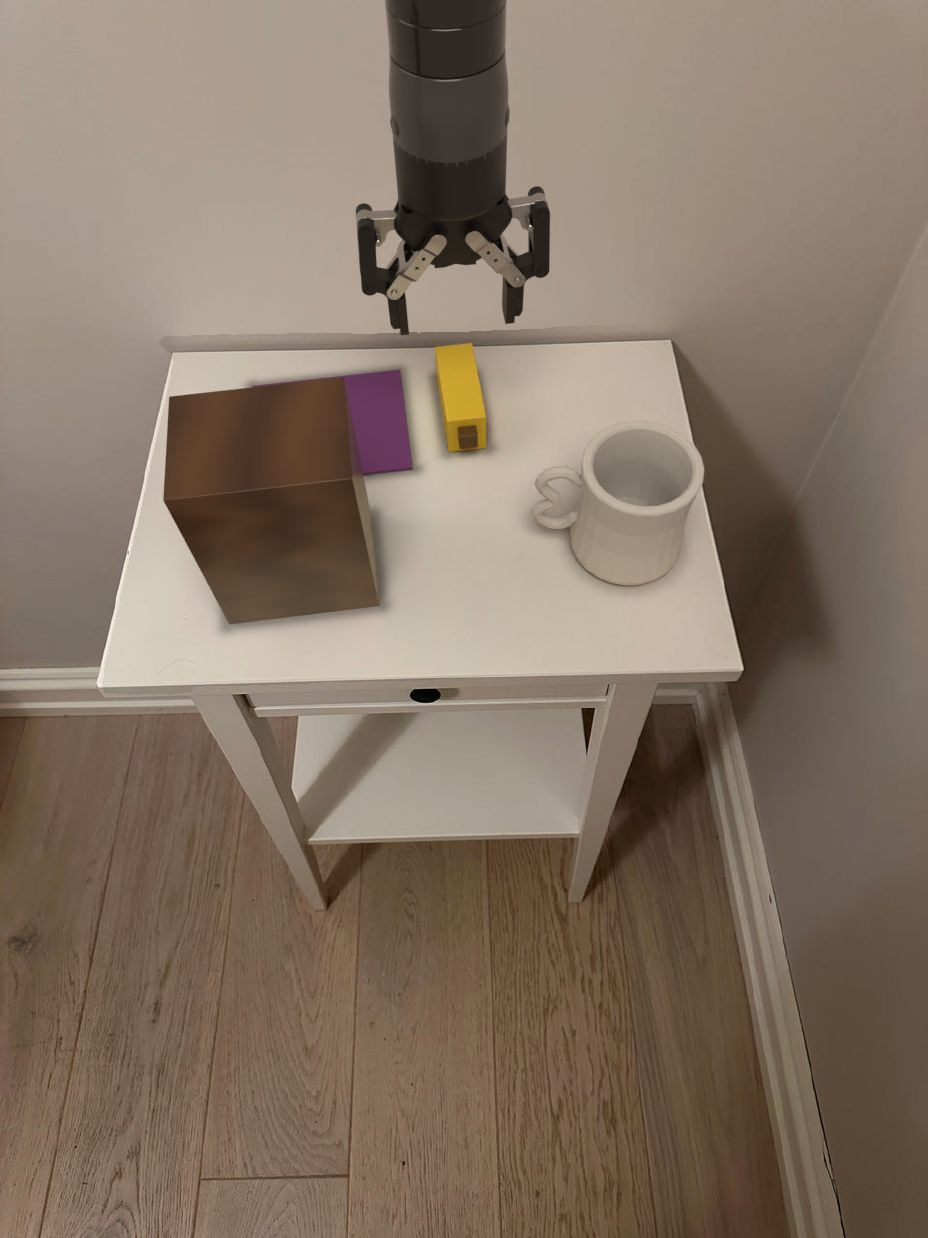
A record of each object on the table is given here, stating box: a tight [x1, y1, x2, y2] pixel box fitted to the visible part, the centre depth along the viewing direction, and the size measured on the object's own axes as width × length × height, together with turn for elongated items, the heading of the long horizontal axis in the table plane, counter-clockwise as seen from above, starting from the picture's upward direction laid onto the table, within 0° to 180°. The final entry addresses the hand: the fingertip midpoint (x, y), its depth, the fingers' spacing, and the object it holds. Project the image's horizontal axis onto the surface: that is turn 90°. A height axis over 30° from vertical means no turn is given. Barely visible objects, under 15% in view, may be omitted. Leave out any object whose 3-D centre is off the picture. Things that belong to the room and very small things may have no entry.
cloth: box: [251, 368, 414, 476], centre depth 78 cm, size 14×12×1 cm
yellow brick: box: [434, 342, 487, 453], centre depth 77 cm, size 11×3×4 cm, turn 7°
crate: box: [162, 377, 380, 625], centre depth 64 cm, size 12×9×16 cm
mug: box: [531, 419, 705, 586], centre depth 67 cm, size 12×9×10 cm
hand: (455, 322), depth 69 cm, fingers open, 8 cm apart
